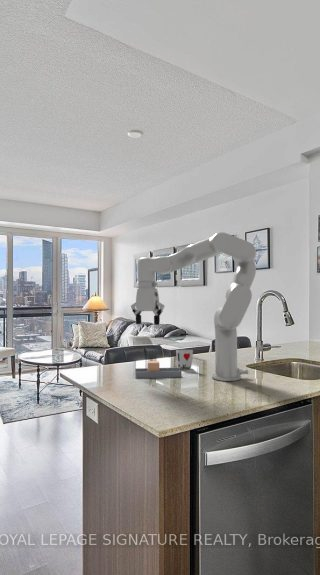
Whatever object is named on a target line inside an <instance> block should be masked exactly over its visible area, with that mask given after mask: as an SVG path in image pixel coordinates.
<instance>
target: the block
mask: <svg viewBox="0 0 320 575" xmlns="http://www.w3.org/2000/svg"><path fill="white" fill-rule="evenodd" d="M147 368H148V372H150V371H159V368H160V361H159V360H148V361H147Z"/></svg>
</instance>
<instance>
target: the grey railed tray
mask: <svg viewBox="0 0 320 575" xmlns="http://www.w3.org/2000/svg"><path fill="white" fill-rule="evenodd" d="M134 374H135V379H149V378H151V379H153V378H154V379H155V378H161V379H162V378H182V370H180V369H179V367H178V366H177V367H159V371H150V372H148V367H145V368H143V367H142V368H141V367H138V368H135V372H134Z"/></svg>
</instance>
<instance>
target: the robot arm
mask: <svg viewBox="0 0 320 575" xmlns="http://www.w3.org/2000/svg"><path fill="white" fill-rule="evenodd" d="M221 254H225V255H226V256H227V255H228V256H230V257H231V258H232V260H233V261H234V263H235V265H236V269H235V270H236V271H235V274H234V276H233V277H232V279H231V282H230V284H229V286H228V288H227V289H226V292H225V299H226V300H225V302H224V304H223V306H221V307H219V308H217V310H216V311H215V312H214V317H213V323H214V324H213V325H214V336H215V337H214V351H215V352H214V354H215V355H214V356H215V359H214V361H215V373H213V374H212V375H211V378H212V379H213V380H216V381H219V382H220V381H221V382H235V381H239V380H241V379H242V376H241V375H249V369H243V368H239V367H238V332H237V328H238V327H239V326H240V324H241V323H242V321H243V318H244V317H245V314H246V313H247V310H248V308H249V306H250V304H251V301H252V296H253V293H252V290H251V287H252V284H253V282H254V279H255V277H256V273H257V269H256V268H257V266H256V263H255V262H256V261H255V260H254V258H256V254H257V248H256V246H255V245H254V244H253V243H251V242H249V241H247V240H245V239H242V238H239V237H237V236H235V235H232V234H229V233H227V232H223V231H221V232H219V231H218V232H216V233H215V234H214V235H212V236H210V237H208V238H205V239H203V240H200V241H198V242H194V243H192V244H189V245H188V246H186V247H185V248H183V249H181V250H180V251H177V252H176V253H174V254H170V255H169V256H168V255H167V256H156V257H150V256H149V257H147V256H145V257H144V256H143V257H140V258H138V261H137V273H138V274H137V279H138V285H137V286H138V288H137V289H136V290H137V291H136V295H135V302H134V303H132V304H131V305H130V307H131V310H132V313H133V315H134V316H135V325H142V315H141V314H142V313H143V312H153V314H154V315H153V325H154V326H156V325H160V323H161V322H160V317H161V315H162V313H163V312H164V309H165V304H162V302H160V296H159V291H158V288H156V287H157V286H158V282H156V273H157V274H159V275H163V276H164V275H168V274H171V273H173V272H176V271H178V270H180V269H183V268H185V267H188V266H192V265H195V264H197V263H200V262H203V261H205V260H208V259H210V258H213V257H216V256H219V255H221Z"/></svg>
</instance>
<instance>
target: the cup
mask: <svg viewBox="0 0 320 575" xmlns="http://www.w3.org/2000/svg"><path fill="white" fill-rule="evenodd" d="M175 353H176V354H175V356H176V363H177V368H178V367H179V371H188V370H191V369H192V363H193V359H194V358H193V356H194V355H193V354H194V351H193V349H176V350H175Z"/></svg>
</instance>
